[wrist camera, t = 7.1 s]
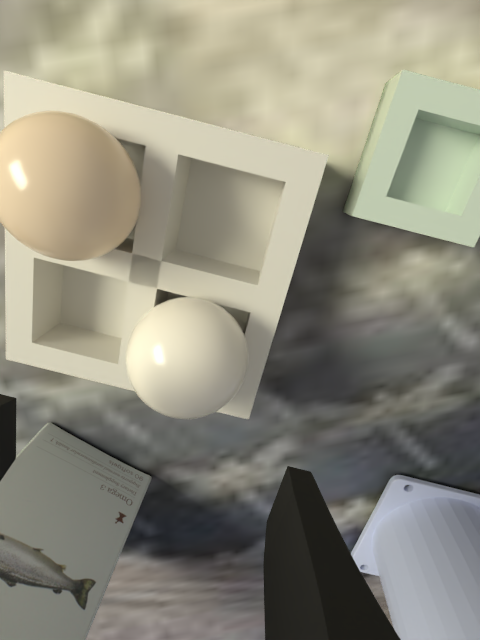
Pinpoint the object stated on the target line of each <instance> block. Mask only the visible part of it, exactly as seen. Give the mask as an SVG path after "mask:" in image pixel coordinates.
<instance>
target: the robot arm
mask: <svg viewBox="0 0 480 640" xmlns="http://www.w3.org/2000/svg"><path fill="white" fill-rule="evenodd" d="M15 459H16V398H13V397H9V396H5V395H1V394H0V481H1V480H2V478H3V477H4V475H5V474H6V472H7V471H8V469H9V468H10V467H11V465H12V464H13V462H14V461H15ZM406 485H409V486H406ZM361 572H364V573H368V574H372V575H376V576H380V580H381V583H382V587H383V591H384V594H385V598H386V602H387V605H388V609H389V613H390V616H391V620H392V624H393V627H394V628H393V627H392V625H391V624H390V622H389V620H388V619H387V617H386V615H385V614H384V612H383V610H382V609H381V607H380V605H379V604H378V602H377V600H376V599H375V597H374V595H373V593H372V592H371V590H370V588H369V586H368V585H367V583H366V581H365V579H364V578H363V576H362V574H361ZM264 605H265V640H480V494H476V493H471V492H467V491H463V490H459V489H455V488H451V487H447V486H443V485H439V484H435V483H431V482H427V481H423V480H419V479H415V478H411V477H407V476H403V475H395V476H393V477H391V479H390V480H389V482H388V484H387V486H386V488H385V489H384V491H383V493H382V495H381V497H380V499H379V501H378V503H377V505H376V507H375V508H374V510H373V512H372V514H371V516H370V518H369V520H368V522H367V524H366V526H365V528H364V529H363V531H362V533H361V535H360V537H359V539H358V541H357V543H356V545H355V547H354V548H353V550H352V552H351V553H350V552H349V550H348V548H347V546H346V544H345V542H344V540H343V538H342V536H341V534H340V532H339V530H338V528H337V526H336V524H335V522H334V520H333V518H332V516H331V514H330V512H329V510H328V507H327V505H326V503H325V501H324V499H323V497H322V495H321V492H320V490H319V488H318V486H317V484H316V481H315V479H314V477H313V475H312V473H311V472H309V471H305V470H301V469H297V468H293V467H289V466H288V467H287V469H286V472H285V475H284V477H283V480H282V483H281V485H280V488H279V491H278V493H277V496H276V499H275V501H274V504H273V506H272V509H271V512H270V514H269V517H268V520H267V527H266V539H265V552H264Z"/></svg>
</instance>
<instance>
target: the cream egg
mask: <svg viewBox="0 0 480 640" xmlns="http://www.w3.org/2000/svg"><path fill="white" fill-rule="evenodd" d="M126 368H127V373H128V377H129V380H130V383H131V385H132V386H133V388H134V390H135V392H136V393H137V395H138V396H139V397H140V398H141V400H142V401H143V402H144V403H145V404H147V405H148V406H149V407H150V408H152V409H153V410H155V411H157V412H159V413H161V414H163V415H166V416H169V417H172V418H177V419H195V418H200V417H204V416H207V415H210V414H212V413H214V412H216V411H218V410H219V409H221V408H222V407H224V406H225V405H226V404H227V403H228V402H229V401H231V399H232V398H233V397H234V396H235V395H236V394H237V392H238V391H239V389H240V387H241V385H242V383H243V381H244V379H245V376H246V372H247V368H248V347H247V342H246V339H245V336H244V333H243V331H242V329H241V327H240V326H239V324H238V323H237V321H236V320H235V319H234V318H233V317H232V316H231V314H230V313H229V312H227V311H226V310H225V309H224V308H222V307H221V306H219V305H217V304H215V303H213V302H211V301H208V300H205V299H201V298H195V297H181V298H175V299H171V300H168V301H165V302H163V303H161V304H159V305H157V306H155V307H154V308H152V309H151V310H149V311H148V312H147V313H146V314H145V315H144V316H143V317H142V318H141V319H140V320H139V322H138V323H137V324H136V326H135V328H134V329H133V331H132V333H131V336H130V338H129V341H128V345H127V349H126Z"/></svg>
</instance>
